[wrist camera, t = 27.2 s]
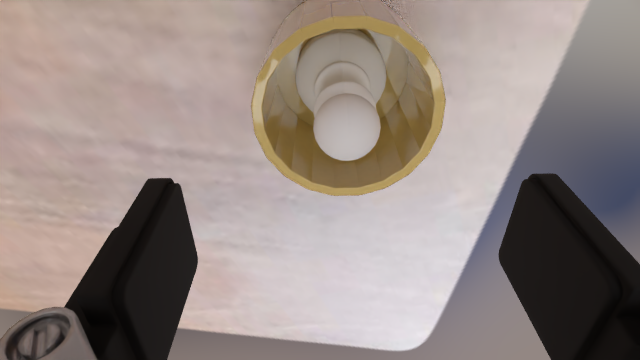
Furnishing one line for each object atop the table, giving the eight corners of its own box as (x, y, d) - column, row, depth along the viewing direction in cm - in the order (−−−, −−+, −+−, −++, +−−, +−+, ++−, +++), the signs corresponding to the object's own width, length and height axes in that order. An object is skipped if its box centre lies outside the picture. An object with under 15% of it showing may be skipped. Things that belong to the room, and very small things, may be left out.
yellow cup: (242, 86, 25) (218, 139, 19) (323, -46, 21) (324, -33, 15) (355, 156, 27) (364, 221, 21) (444, 50, 23) (486, 94, 17)
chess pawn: (382, 108, 25) (409, 191, 17) (300, 113, 25) (291, 197, 17) (384, 22, 22) (416, 75, 14) (292, 28, 22) (277, 84, 15)
